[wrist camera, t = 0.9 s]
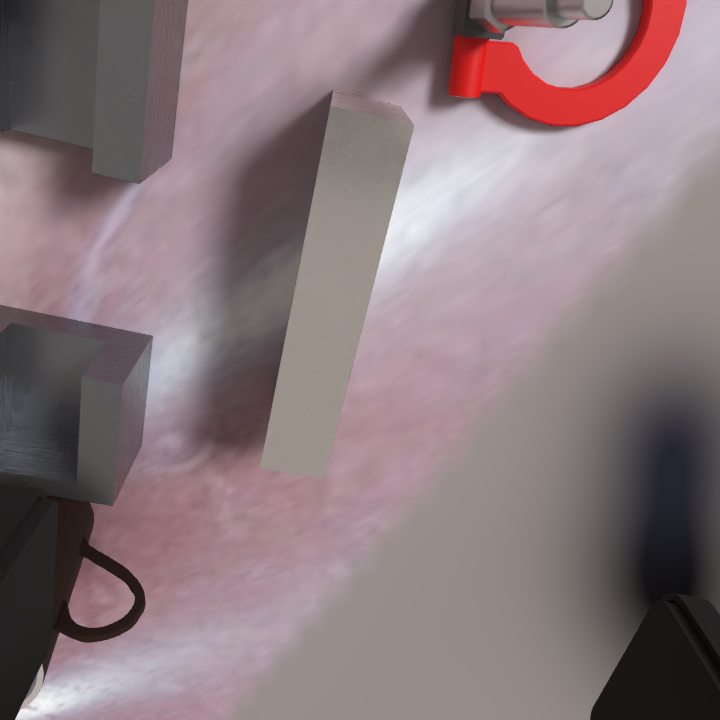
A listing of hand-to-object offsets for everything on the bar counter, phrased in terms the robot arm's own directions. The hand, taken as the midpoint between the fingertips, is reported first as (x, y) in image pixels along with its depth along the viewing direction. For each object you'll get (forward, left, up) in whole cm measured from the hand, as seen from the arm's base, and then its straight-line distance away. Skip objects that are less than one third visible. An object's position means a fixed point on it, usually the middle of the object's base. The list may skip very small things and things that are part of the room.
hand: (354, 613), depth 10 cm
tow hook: (-10, +7, -23) cm, 26 cm away
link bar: (+3, 0, -23) cm, 23 cm away
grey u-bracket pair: (+4, -12, -23) cm, 26 cm away
